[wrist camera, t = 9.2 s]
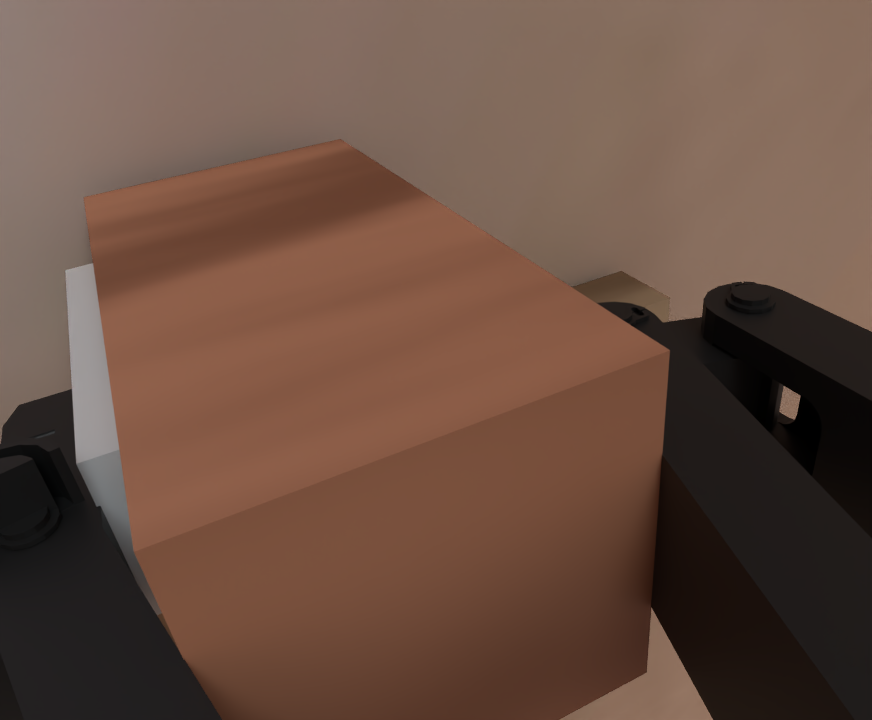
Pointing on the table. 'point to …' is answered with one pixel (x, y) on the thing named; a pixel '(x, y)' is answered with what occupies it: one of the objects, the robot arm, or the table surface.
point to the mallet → (374, 447)
